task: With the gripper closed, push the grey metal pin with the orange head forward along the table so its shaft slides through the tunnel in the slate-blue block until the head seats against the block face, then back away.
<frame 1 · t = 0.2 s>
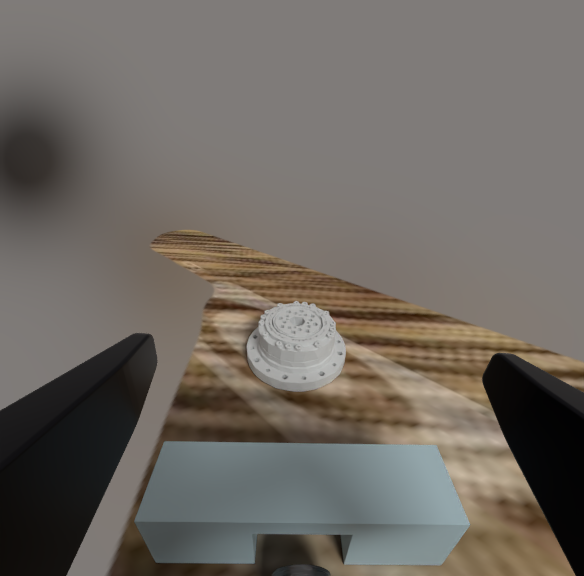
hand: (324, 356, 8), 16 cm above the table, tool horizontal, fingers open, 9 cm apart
mechanical component: (295, 356, 32), on the table
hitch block: (298, 522, 19), on the table
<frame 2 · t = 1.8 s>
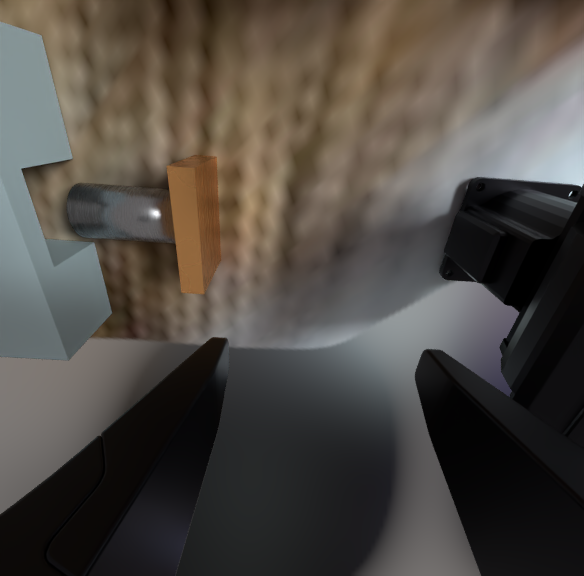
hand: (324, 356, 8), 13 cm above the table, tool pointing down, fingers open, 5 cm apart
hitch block: (50, 200, 18), on the table
pin: (209, 212, 19), on the table
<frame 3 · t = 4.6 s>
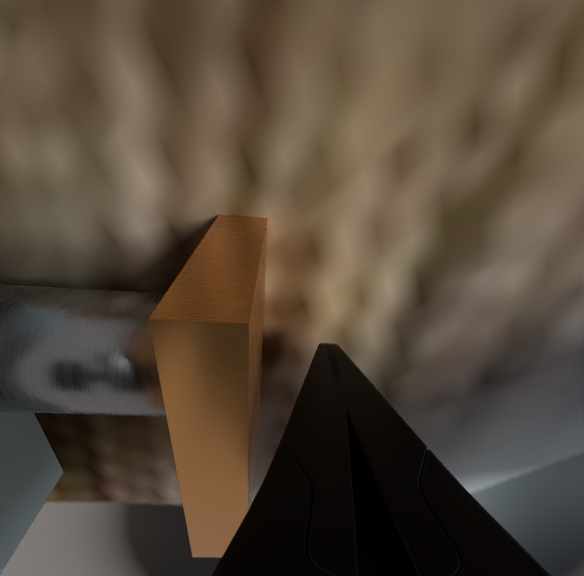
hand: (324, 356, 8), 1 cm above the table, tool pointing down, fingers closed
pin: (243, 321, 9), on the table, touching gripper
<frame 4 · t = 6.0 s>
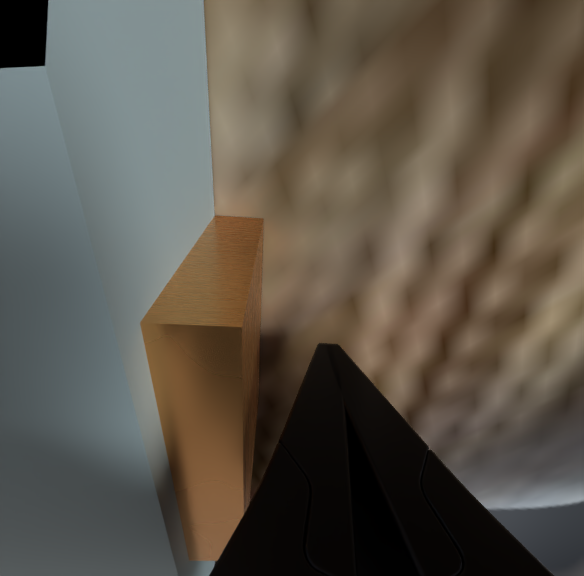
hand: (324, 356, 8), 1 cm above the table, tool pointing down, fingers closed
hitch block: (151, 318, 9), on the table
pin: (240, 322, 9), on the table, touching gripper, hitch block
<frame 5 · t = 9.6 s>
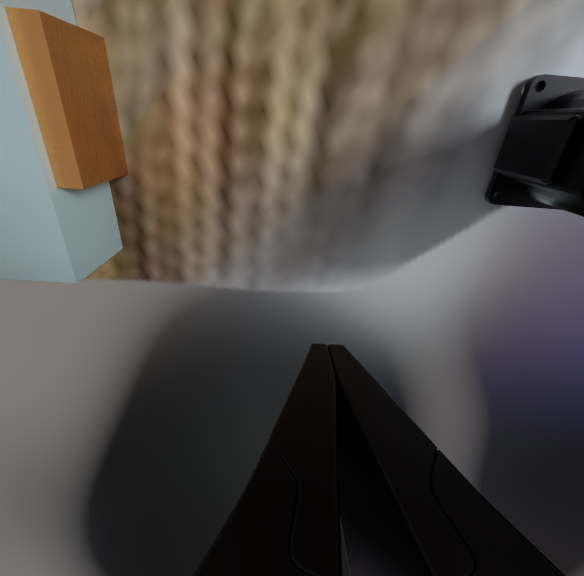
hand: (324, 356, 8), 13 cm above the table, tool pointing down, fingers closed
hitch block: (56, 107, 17), on the table
pin: (106, 111, 17), on the table
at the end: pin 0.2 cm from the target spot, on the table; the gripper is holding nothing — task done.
